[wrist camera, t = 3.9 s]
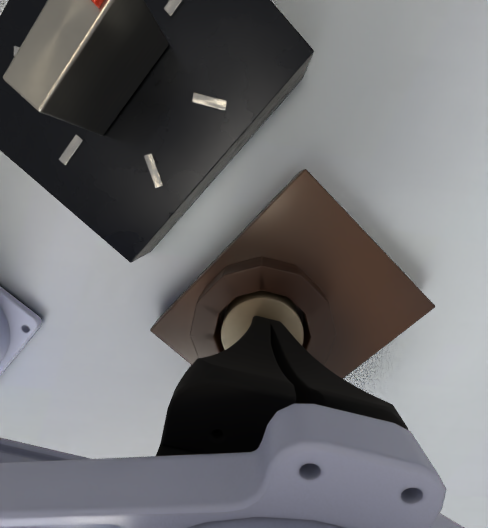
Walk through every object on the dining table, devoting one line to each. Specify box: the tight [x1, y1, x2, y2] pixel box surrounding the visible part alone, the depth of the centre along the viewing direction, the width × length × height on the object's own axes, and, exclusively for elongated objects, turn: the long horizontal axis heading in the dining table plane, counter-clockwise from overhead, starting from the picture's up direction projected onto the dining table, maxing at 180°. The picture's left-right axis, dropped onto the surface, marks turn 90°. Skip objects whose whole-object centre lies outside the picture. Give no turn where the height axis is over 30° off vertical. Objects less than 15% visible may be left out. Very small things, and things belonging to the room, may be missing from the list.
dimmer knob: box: [3, 0, 169, 135], centre depth 9 cm, size 5×1×4 cm, turn 136°
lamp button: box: [221, 290, 304, 350], centre depth 14 cm, size 4×4×2 cm
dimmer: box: [0, 0, 314, 262], centre depth 12 cm, size 12×10×3 cm
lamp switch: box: [150, 169, 435, 379], centre depth 14 cm, size 12×10×3 cm
